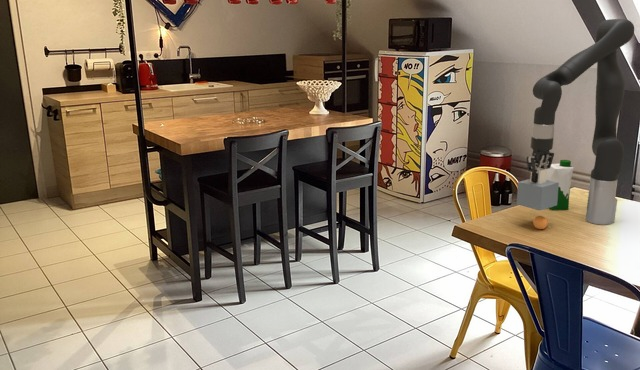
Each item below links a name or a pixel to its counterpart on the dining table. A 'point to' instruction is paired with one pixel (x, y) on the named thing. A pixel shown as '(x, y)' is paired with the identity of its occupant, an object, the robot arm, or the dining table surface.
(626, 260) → the dining table surface
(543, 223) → the ball
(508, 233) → the dining table surface
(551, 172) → the milk carton
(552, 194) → the tissue box
